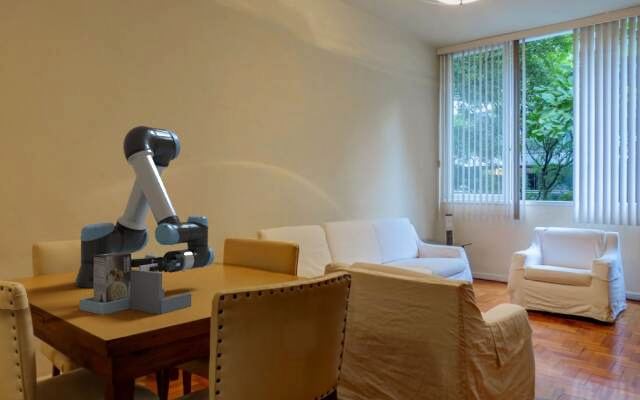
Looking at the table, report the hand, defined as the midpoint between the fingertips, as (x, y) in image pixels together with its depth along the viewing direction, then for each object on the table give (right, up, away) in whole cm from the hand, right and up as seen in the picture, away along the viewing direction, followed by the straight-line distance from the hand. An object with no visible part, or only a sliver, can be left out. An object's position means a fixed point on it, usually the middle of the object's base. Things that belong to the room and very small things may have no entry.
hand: (125, 268), depth 149 cm
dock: (+13, -12, -3) cm, 17 cm away
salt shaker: (0, -11, +23) cm, 25 cm away
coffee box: (-2, -11, -5) cm, 12 cm away
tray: (-3, -11, -5) cm, 13 cm away
